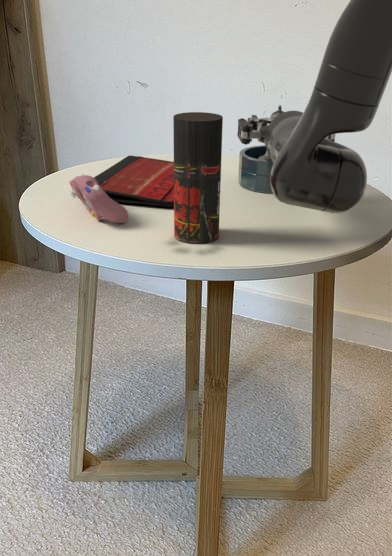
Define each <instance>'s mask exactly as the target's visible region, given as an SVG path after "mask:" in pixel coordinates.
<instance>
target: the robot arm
mask: <svg viewBox="0 0 392 556" xmlns="http://www.w3.org/2000/svg"><path fill="white" fill-rule="evenodd" d="M391 75H392V0H350V1H349V2H348V3H347V5H346V6H345V7H344V10H343V11H342V12H341V14H340V16H339V18H338V20H337V21H336V24H335V26H334V28H333V30H332V32H331V35H330V37H329V39H328V42H327V45H326V47H325V50H324V53H323V57H322V60H321V63H320V66H319V70H318V73H317V75H316V76H317V77H316V80H315V82H314V85H313V88H312V92H311V95H310V98H309V100H308V103H307V104H306V106H305V108H304V111H303V112H302V111H300V110H287V111H283V112H284V113H281V114H280V115H278V116H277V117H275V118H274V119H271V118H270V117H260V118H259V117H258V115H257V114H251V117H247V119H246V118H238V119H237V134H236V135H237V138H238V140H239V142H240V143H241V144H243V145H245V146H246V145H247V146H248V145H250V144H251V143H252V142H253V139H255V140H257V142H259V143H262V144H264V145H265V146H266V149H267V152H268V154H269V157H270V158H271V160H272V162H273V167H272V170H271V176H270V184H271V189H272V192H273V194H272V195H273V196H274V197H275V199H276V200H277V201H279V202H280V203H282V204H284V205H285V204H286V205H289V206H294V207H300V208H303V209H305V208H306V209H309V210H315V211H319V212H324V213H328V214H329V213H330V214H342V213H346V212H348V211H350V210H352V209H353V208H354V207H356V206H357V205H358V203H359V202H360V201H361V200H362V198H363V196H364V194H365V192H366V188H367V183H368V173H367V172H368V171H367V167H366V164H365V161H364V160H363V158H362V156H361V155H360V154H359V153H358V152H357V151H355V150H354V149H352V148H350V147H348V146H346V145H343V144H341V143H338V142H336V134H346V133H347V134H351V133H352V134H353V133H360V132H363V131H366V130H367V129H368V128H369V127H370V126H371V124H372V123H373V121H374V119H375V117H376V114H377V111H378V109H379V107H380V103H381V101H382V99H383V96H384V94H385V91H386V88H387V85H388V84H389V81H390V77H391Z"/></svg>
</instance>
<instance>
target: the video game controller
mask: <svg viewBox="0 0 392 556" xmlns="http://www.w3.org/2000/svg"><path fill="white" fill-rule="evenodd" d="M94 177H95V176H91V175H86V174H84V173H81V175H79V176H78V175H76V176H75V177H73V178H72V179H70V181H69V185H70V187H71V190H69V195H70V196H71V197H72V198H74V199H76V198H78V199H79V200H80V201H81V203H82V204H83V205H84V207H85V208H86V210H87V211H88V212H89V214H90V216H91V217H92V218H95V219H96V220H97V221H98V222H99V221H101V220H102V219H105V220H107V221H109V222H112V223H116V224H124V223H127V221H128V219H129V213H128V211H127V209H126V208H125V207H124V206H123V205H121V204H120V203H119V202H115V201H114V200H112V199H111V198H110V197H109V196H108V195H107V194H106V193H105V191H104V190H103V189H102V188H101V187H100V186H99V183H98V181H97V180H96V179H95V178H94Z"/></svg>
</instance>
